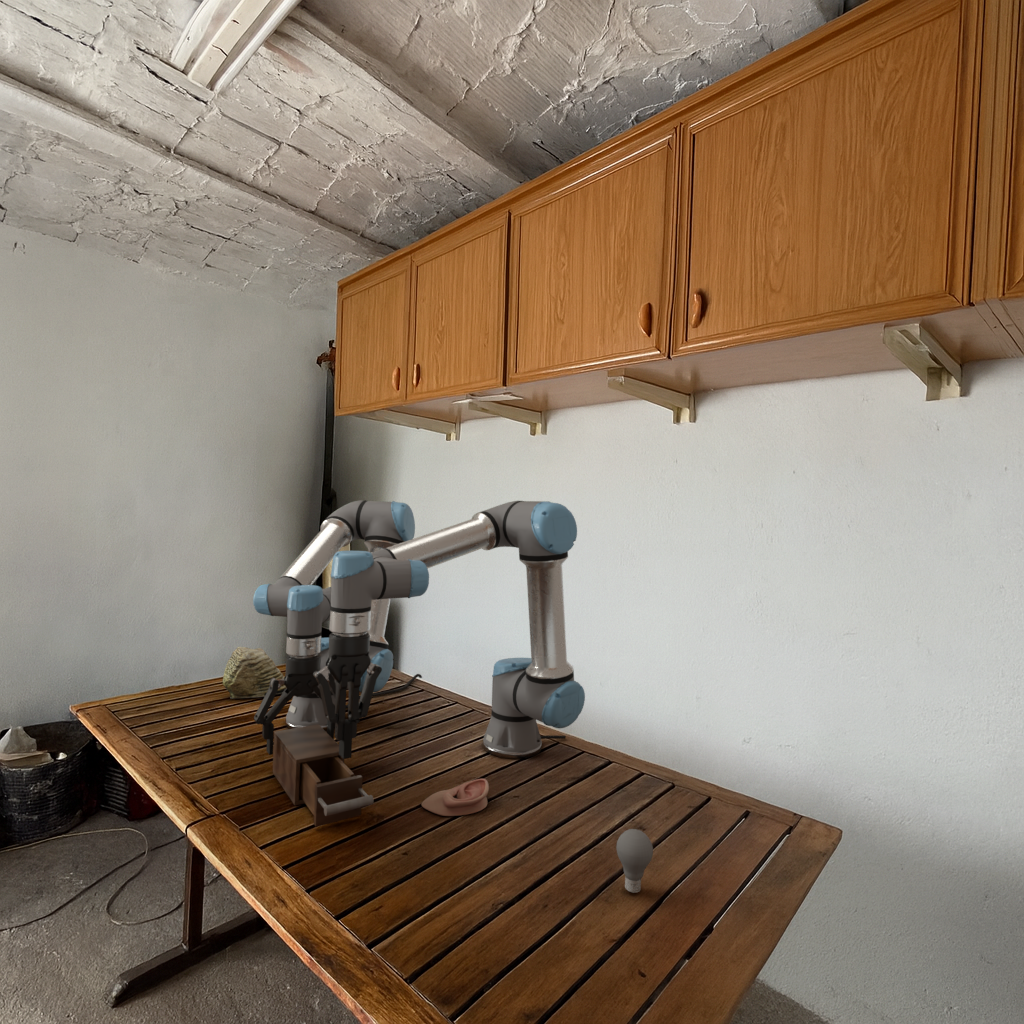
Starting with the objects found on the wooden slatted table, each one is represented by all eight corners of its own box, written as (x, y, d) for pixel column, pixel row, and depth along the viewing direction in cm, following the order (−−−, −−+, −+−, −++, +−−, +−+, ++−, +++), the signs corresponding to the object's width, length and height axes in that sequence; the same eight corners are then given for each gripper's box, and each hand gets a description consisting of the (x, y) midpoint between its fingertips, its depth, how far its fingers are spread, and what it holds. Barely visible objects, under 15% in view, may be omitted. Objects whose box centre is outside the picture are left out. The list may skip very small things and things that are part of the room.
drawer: (372, 828, 120) (374, 788, 120) (325, 841, 115) (327, 799, 115) (333, 782, 139) (334, 747, 139) (291, 791, 134) (292, 755, 134)
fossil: (218, 695, 195) (220, 647, 195) (278, 685, 208) (279, 640, 207) (228, 703, 189) (230, 653, 188) (289, 692, 201) (290, 645, 201)
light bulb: (610, 879, 108) (613, 822, 108) (644, 879, 109) (647, 822, 109) (619, 902, 102) (622, 840, 102) (655, 901, 103) (658, 840, 103)
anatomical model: (416, 792, 129) (434, 769, 140) (415, 812, 129) (434, 787, 140) (479, 801, 126) (493, 777, 137) (479, 821, 126) (492, 795, 137)
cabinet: (343, 794, 135) (344, 750, 135) (294, 805, 129) (296, 759, 129) (317, 763, 150) (318, 724, 150) (272, 772, 144) (274, 731, 144)
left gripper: (249, 664, 134) (246, 764, 134) (362, 652, 148) (359, 741, 148) (241, 656, 140) (238, 751, 140) (350, 645, 154) (348, 731, 155)
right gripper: (321, 639, 113) (316, 770, 114) (389, 633, 121) (384, 756, 121) (309, 631, 120) (304, 755, 120) (374, 626, 127) (370, 742, 127)
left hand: (300, 746), depth 144 cm, fingers open, 13 cm apart
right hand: (344, 755), depth 121 cm, fingers closed
